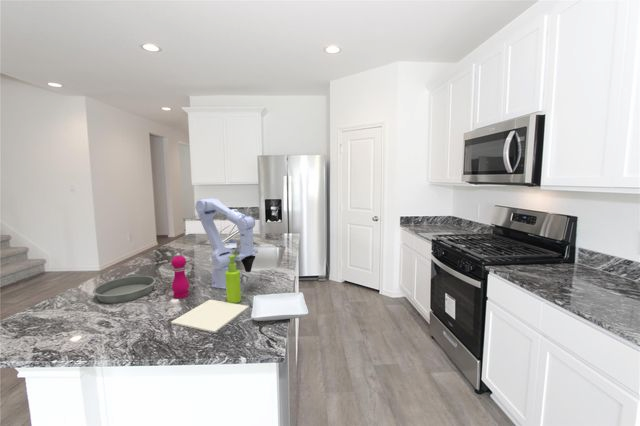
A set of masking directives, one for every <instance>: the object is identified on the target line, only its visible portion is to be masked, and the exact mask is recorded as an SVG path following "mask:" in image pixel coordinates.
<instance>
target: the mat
mask: <svg viewBox="0 0 640 426" xmlns="http://www.w3.org/2000/svg"><path fill="white" fill-rule="evenodd" d="M249 308H250V305H245V304H240V303H239V304H238V303H235V304H234V303H228V302H227V301H220V300H215V299H208V300H206V301H204V302H203V303H201V304H199V305H197V306H196V307H194V308H192V309H191V310H189V311H187V312H186V313H184V314H182V315H180V316H179V317H176V318H175V319H173V320H171V321H170V324H172V325H177V326H181V327H186V328H191V329H195V330H199V331H205V332H209V333H214V334H215V333H217V332H218V331H219V330H221V329H222V328H223V327H225V326H227V325H228V324H229V323H230V322H232V321H233V320H235V319H236V318H237V317H239V316H240V315H241V314H243V313H244V312H246V310H248V309H249Z"/></svg>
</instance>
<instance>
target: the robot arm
mask: <svg viewBox="0 0 640 426" xmlns="http://www.w3.org/2000/svg"><path fill="white" fill-rule="evenodd" d="M194 209H195V210H196V213H197V215H198V217H199V220H200V223H201V225H202V227H203V229H204V232H205V234H206V236H207V239H208V241H209V243H210V245H211V248H212V250H213V253H211V254H212V255H211V256H210V258H211V261H212V266H213V269H212V271H211V282H212V284H211V285H210V286H211V288H218V289H222V290H226V274H225V272H226V271H228V264H229V263H230V259H228V257H229V256H231V255H234V253H233V252H232V251H231V249H230V248H228V247H226V246H225V244H224V242H223V240H222V238H221V235H220V233H219V231H218V228H217V227H216V224H215V222H214V219H213V218H214V216H215V215H216V213H217V212H218V213H220V214H222V215H224V216H225V217H226V219H227V220H228V221H229V222H231V223H233V224H234V225H236V228H237V229H238V233H239V237H240V239H239V240H240V253H239V254H238V255H239V256H236V257H234V262H235V263H236V261H237V262H241V263H242V265H243V268H244V271H245V273H250V272H251V271H252V268H253V263H254V260H255V259H256V254H258V253H259V249H258V248H254V228H255V226H256V220H255V218H254V217H252V216H251V215H248V216H247V215H246V214H244V213H241V212H240V211H239V210H238V208H236V209H230V208H229V207H228V206H227V205H226V204H225V205H224V203H222V202H221V200H220V199H218V198H216V197H212V198H211V197H210V198H203V199H202V198H201V199H197V201H196V203H195V207H194Z"/></svg>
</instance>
